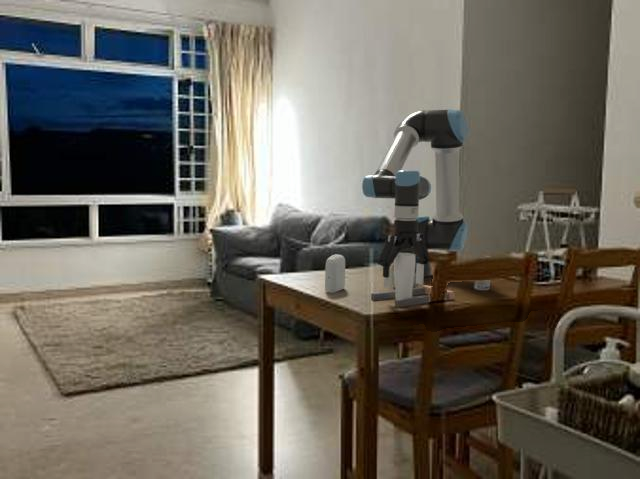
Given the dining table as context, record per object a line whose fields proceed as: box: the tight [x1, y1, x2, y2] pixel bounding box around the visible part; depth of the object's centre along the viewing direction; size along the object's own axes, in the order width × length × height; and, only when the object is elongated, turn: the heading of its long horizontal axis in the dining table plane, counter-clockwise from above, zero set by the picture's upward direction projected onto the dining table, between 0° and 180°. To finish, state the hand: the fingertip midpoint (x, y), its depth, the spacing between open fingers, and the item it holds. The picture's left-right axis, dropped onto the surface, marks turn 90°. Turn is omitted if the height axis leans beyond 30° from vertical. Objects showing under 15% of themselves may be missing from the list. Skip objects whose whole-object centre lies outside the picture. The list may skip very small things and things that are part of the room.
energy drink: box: [473, 254, 492, 292], centre depth 230 cm, size 5×5×12 cm
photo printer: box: [324, 254, 346, 294], centre depth 223 cm, size 10×4×12 cm, turn 156°
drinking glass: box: [393, 253, 416, 300], centre depth 208 cm, size 7×7×15 cm
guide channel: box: [370, 284, 455, 308], centre depth 211 cm, size 24×13×2 cm, turn 125°
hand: (403, 285), depth 208 cm, fingers open, 13 cm apart
